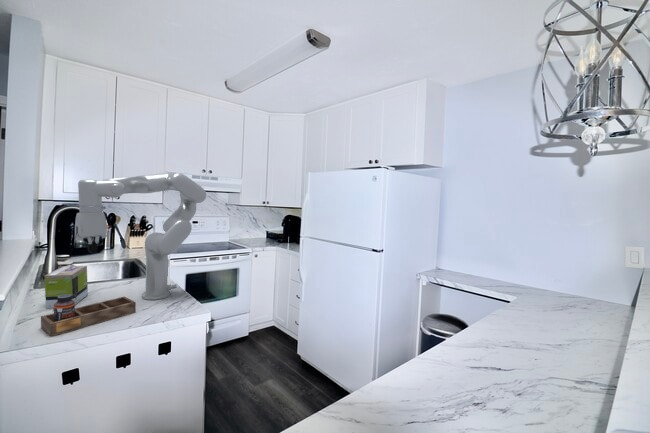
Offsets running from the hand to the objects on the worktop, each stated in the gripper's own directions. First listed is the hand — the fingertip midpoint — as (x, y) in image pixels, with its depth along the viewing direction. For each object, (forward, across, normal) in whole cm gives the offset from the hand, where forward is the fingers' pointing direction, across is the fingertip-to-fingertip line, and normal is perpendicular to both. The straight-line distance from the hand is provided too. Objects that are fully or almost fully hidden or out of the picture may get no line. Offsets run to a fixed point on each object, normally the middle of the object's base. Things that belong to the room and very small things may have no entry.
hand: (92, 252), depth 127 cm
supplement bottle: (+24, +14, +10) cm, 29 cm away
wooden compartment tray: (+25, +5, +10) cm, 27 cm away
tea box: (+25, +4, -18) cm, 31 cm away
